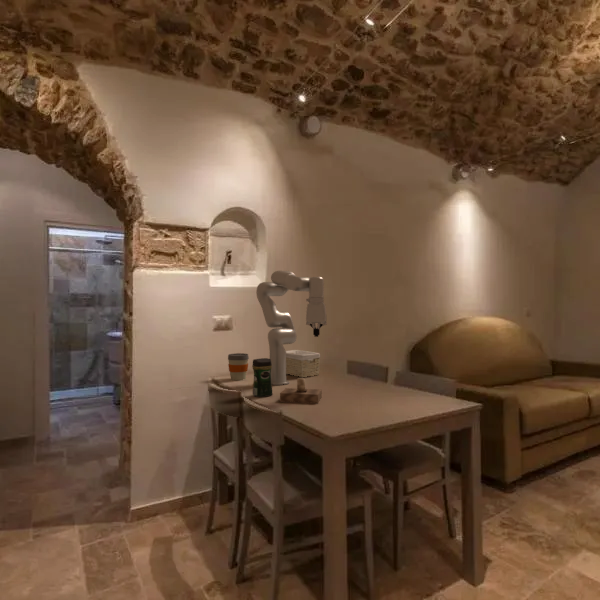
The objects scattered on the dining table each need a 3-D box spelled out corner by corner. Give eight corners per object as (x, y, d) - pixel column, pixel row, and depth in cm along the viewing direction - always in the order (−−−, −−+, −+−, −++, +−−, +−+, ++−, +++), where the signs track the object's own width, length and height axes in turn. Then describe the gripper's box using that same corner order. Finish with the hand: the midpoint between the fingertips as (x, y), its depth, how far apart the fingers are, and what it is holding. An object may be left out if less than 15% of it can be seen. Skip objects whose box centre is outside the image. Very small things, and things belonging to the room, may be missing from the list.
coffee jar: (267, 393, 222) (267, 356, 222) (274, 395, 215) (274, 358, 215) (250, 395, 217) (250, 358, 217) (256, 398, 210) (256, 360, 210)
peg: (296, 400, 204) (296, 379, 204) (297, 398, 208) (297, 377, 208) (304, 400, 204) (304, 379, 204) (306, 398, 208) (306, 378, 208)
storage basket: (321, 375, 274) (321, 352, 274) (302, 378, 263) (302, 354, 264) (297, 371, 292) (297, 349, 292) (278, 373, 282) (278, 351, 282)
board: (280, 401, 202) (280, 393, 202) (285, 396, 214) (285, 388, 214) (318, 403, 198) (318, 394, 198) (321, 397, 210) (321, 389, 210)
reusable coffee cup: (224, 380, 257) (224, 355, 257) (232, 377, 270) (232, 353, 270) (244, 381, 255) (244, 356, 255) (251, 377, 267) (251, 353, 267)
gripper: (300, 301, 220) (300, 336, 220) (329, 300, 217) (329, 337, 217) (303, 301, 227) (303, 335, 227) (331, 300, 224) (331, 336, 224)
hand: (316, 336), depth 222 cm, fingers closed
